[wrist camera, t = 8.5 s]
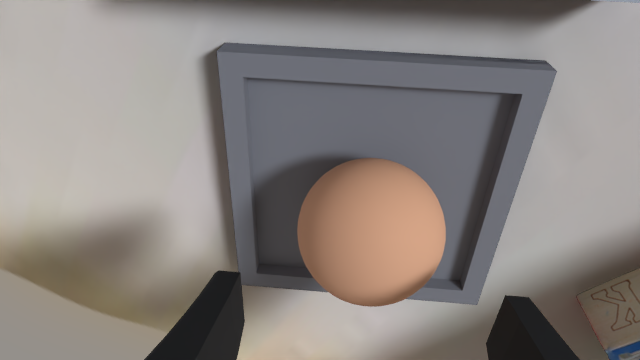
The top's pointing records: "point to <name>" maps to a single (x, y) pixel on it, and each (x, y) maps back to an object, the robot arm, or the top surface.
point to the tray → (375, 146)
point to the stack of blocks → (615, 315)
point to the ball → (371, 232)
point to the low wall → (621, 0)
